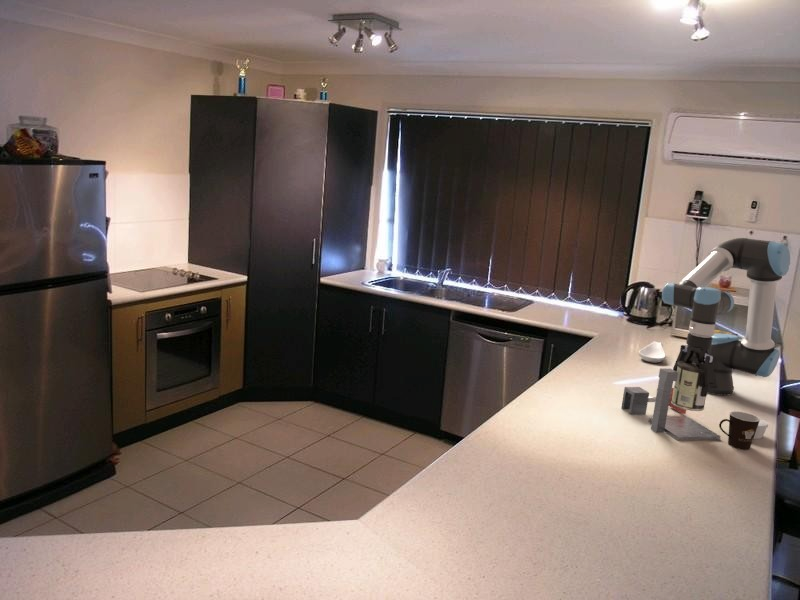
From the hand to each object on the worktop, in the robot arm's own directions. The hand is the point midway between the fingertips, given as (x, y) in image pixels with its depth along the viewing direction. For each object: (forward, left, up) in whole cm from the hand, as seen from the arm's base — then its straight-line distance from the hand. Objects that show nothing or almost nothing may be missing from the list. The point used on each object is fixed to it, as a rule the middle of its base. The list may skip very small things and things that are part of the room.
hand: (688, 399), depth 220 cm
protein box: (-72, -75, -11) cm, 104 cm away
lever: (-1, -17, -11) cm, 20 cm away
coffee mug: (-10, +12, -11) cm, 19 cm away
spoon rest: (-46, -83, -12) cm, 96 cm away
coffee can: (0, 0, -2) cm, 2 cm away
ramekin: (-22, +4, -11) cm, 25 cm away
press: (+2, -6, -11) cm, 13 cm away
